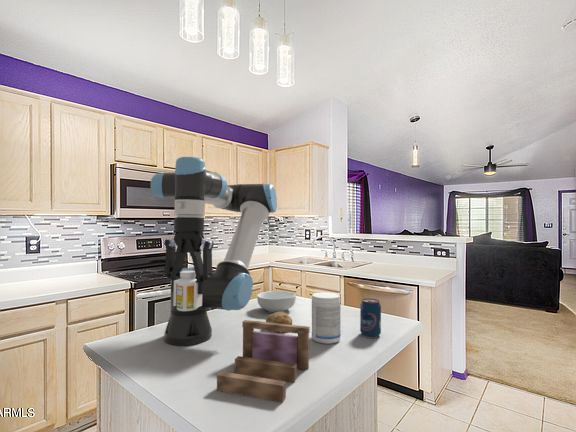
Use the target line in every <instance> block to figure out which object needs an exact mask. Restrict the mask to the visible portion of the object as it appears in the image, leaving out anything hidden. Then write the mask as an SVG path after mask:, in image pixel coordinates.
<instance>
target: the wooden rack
mask: <svg viewBox="0 0 576 432" xmlns="http://www.w3.org/2000/svg"><path fill="white" fill-rule="evenodd" d="M241 322H242V323H241V324H242V326H241V327H242V356H240V355H239V356H237V357H235V359H234V373H233V372H229V371H228V372H227V371H220V372H219V373H218V374H216V391H218V392H223V393H224V392H225V393H230V394H235V395H241V396H246V397H250V398H251V397H252V398H257V399H263V400H268V401H275V402H279V403H284V401H285V400H286V398H287V397H286V394H287V389H286V388H287V382H290V383H296V381H297V378H298V377H297V376H298V375H297V373H298V370H300V371H307V370H308V369H309V367H310V366H309V365H310V363H309V361H310V360H309V359H310V356H309V355H310V350H309V349H310V333H311V331H310V329H311V327H310V326H305V325H304V326H303V325H297V324H296V325H294V324H292V325H288V324H279V323H269V322H266V321H258V320H250V319H243V320H242V321H241ZM255 329H256V330H255ZM257 330H263V331H257ZM268 330H271V331H280V332H286V333H288V334H284V333H283V334H282V333H275V332H265V331H268ZM289 333H291V334H297V335H291V334H290V335H289Z"/></svg>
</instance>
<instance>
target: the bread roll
mask: <svg viewBox="0 0 576 432" xmlns="http://www.w3.org/2000/svg"><path fill="white" fill-rule="evenodd" d="M265 322H269V323H279V324H288V325H293V318H292V316H290V315H289V314H288V313H286V311H284V312H281V311H279V312H276V313H270V314H269V315H268V316H267V317H266V319H265ZM267 332H269V333H275V334H282V333H283V334H284V333H287V332H280V331H271V330H267Z"/></svg>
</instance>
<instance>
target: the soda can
mask: <svg viewBox="0 0 576 432" xmlns="http://www.w3.org/2000/svg"><path fill="white" fill-rule="evenodd" d="M359 307H360V309H359V310H360V313H359V316H360V317H359V318H360V321H359V329H360V330H359V332H360V333H361V334H362V336H363V337H365V338H369V339H376V338H379V336H380V335H381V333H382V310H381V309H382V305H381V302H380V300H379V299H377V298H363V299H362V300H361V303H360V305H359Z"/></svg>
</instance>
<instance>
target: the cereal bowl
mask: <svg viewBox="0 0 576 432" xmlns="http://www.w3.org/2000/svg"><path fill="white" fill-rule="evenodd" d="M256 297H257V298H256V299H257V304H258V306H259V307H260V308H261V309H263V310H266V311H267V312H269V313H272V312H274V313H276V312H279V311H281V312H286V311H287V310H289V309H291V308H292V307H293V306H294V305H295V303H296V301H297V300H296V299H297V297H296V293H294V292H291V291H287V290H286V291H285V290H270V291H263V292H260V293H257V296H256Z"/></svg>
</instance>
